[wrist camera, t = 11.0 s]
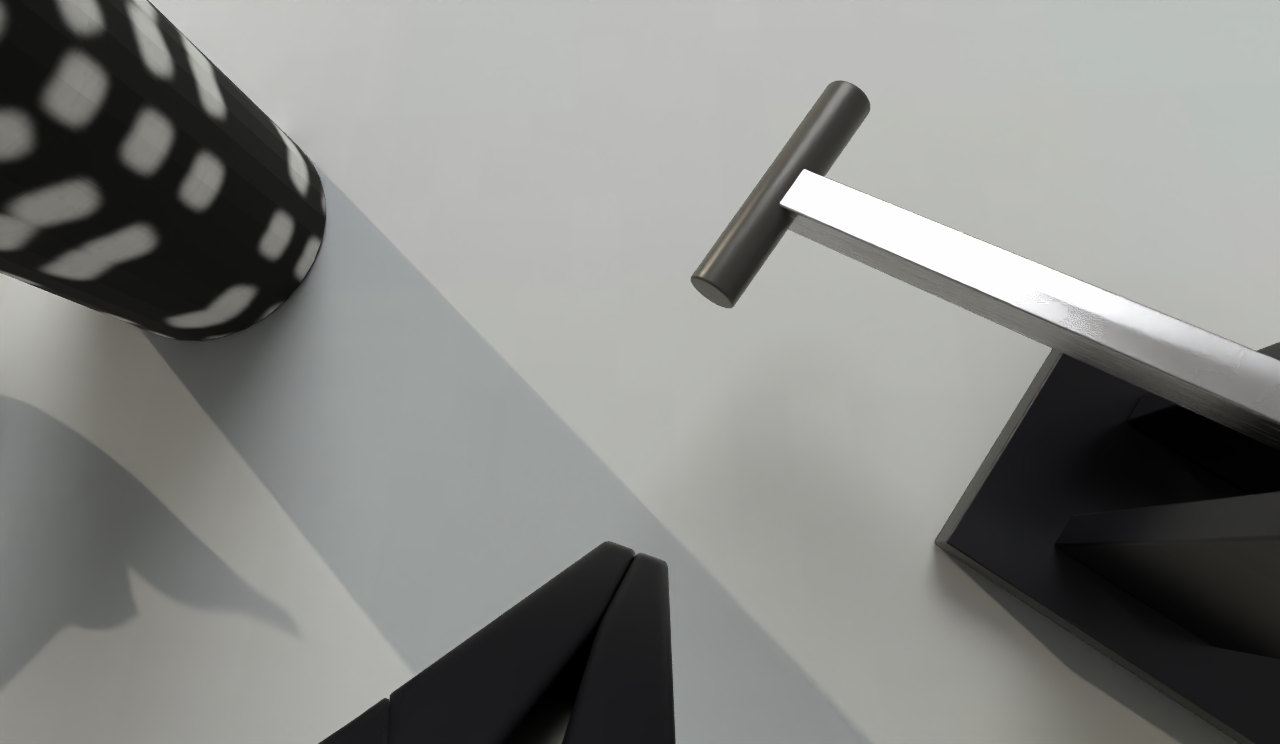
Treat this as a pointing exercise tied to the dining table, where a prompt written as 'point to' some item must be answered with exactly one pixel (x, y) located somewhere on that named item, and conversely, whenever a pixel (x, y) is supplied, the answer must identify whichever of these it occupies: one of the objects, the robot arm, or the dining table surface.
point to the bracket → (1138, 538)
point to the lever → (984, 280)
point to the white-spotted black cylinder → (144, 173)
